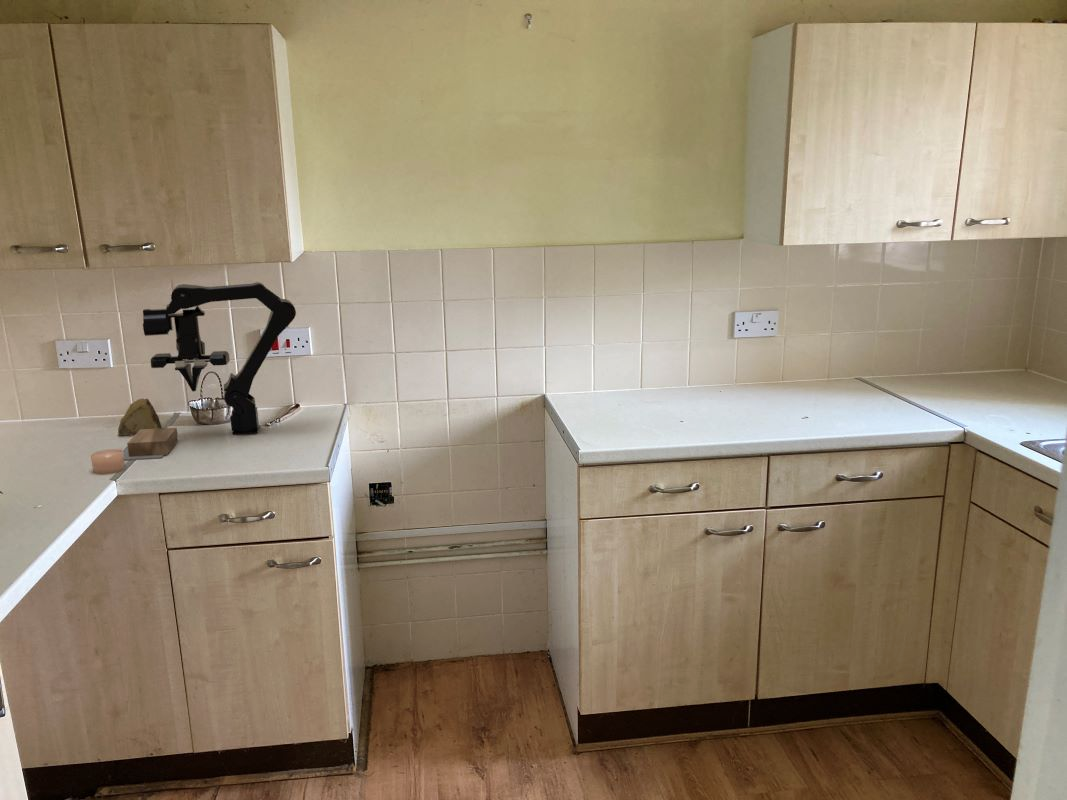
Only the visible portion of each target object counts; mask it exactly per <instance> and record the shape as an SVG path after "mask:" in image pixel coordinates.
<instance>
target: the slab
mask: <svg viewBox="0 0 1067 800" xmlns="http://www.w3.org/2000/svg"><path fill="white" fill-rule="evenodd" d="M177 428H178V427H164V428H163V427H162V428H158V429H140V430H139V431H138V432H137V433H136V434H134V435H133V436H132V437H131V438H130V439H129V441H128V442H127V443H126V445H127V446H128V453H129V457H131V456H148V455H164V454H165V455H168V454H169V453H170V451H171V450H172V449H173V447H174V446H175V445H176V443H177V442H178V441H179V437H178V430H177ZM165 455H164V456H165Z"/></svg>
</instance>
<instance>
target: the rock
mask: <svg viewBox="0 0 1067 800" xmlns="http://www.w3.org/2000/svg"><path fill="white" fill-rule="evenodd" d="M158 428H163V427H162V423H161V421H160V418H159V415H158V414H157V411H156V409H155V408H154V406H153V404H152V403H151V402H150V401H149V398H139V399H136V401H133V402H132V403H130V404H129V407H128V408H127V410H126V412H125V414H124V415H123V416H122V417H121V419H120V421H119V425H118V428H117V435H118V436H119V437H120V436H122V437H123V436H131V435H133V436H134V435H135V434H136V433H137V432H138V431H139V430H140V429H158Z"/></svg>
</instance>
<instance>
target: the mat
mask: <svg viewBox="0 0 1067 800" xmlns="http://www.w3.org/2000/svg"><path fill="white" fill-rule="evenodd" d="M122 451H123V453H124V461H137V460H139V461H140V460H153V459H154V460H156V459H163V457H164V456H165V455H166V454H164V455H148V456H131V457H129V453H128V445H127V446H126V447H125V448H124V449H123V450H122Z"/></svg>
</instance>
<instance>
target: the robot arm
mask: <svg viewBox="0 0 1067 800" xmlns="http://www.w3.org/2000/svg"><path fill="white" fill-rule="evenodd" d="M170 299H171V301H170V303H169V304H166V306H165V307H166V308H159V309H158V308H157V309H155V308H154V309H151V308H145V309H143V310H142V321H143V322H142V327H143V328H142V329H143V334H144V336H145V337H148V336H163V335H164V336H165V335H168V336H169V334H170V332H171V331H174V330H173V320H174V327H175V328H174V329H175V337H176V339H175V341H176V342H175V343H176V344H175V345H176V351H177V356H172V354H171V353H170V352H168V353H167V352H166V353H164V352H163V353H156V354H154V355H153V356H152V357H151V359H150V367H151V369H161V368H162V369H164V367H166V366H167V364H169V365H170V364H171V365H172V364H174V366H175V368H174V370H175V371H178V372H179V373H180V374H181V375H182V377H183V378H184V379H185V381H186V383H187V384H188V387H189V389H190V391H192V392H196V391H197V388H198V384H199V381H200V376H201V372H202V370H204V369H205V368H206V367H207V366H208V363H210V364H211V365H212V366H214V367H215V366H226V365H228V363H229V362H230V361H231V360H230V353H229V352H228V351H227V350H217V351H212V352H211V353H210V354H206V345H205V341H203V340H202V339H201V335H200V334H201V333H200V327H199V326H200V325H199V317H204V316H205V314H206V312H205V310H202V309H201V308H200V306H201V305H204V304H207V303H215V302H225V301H226V302H227V301H228V302H229V301H236V300H237V301H241V300H250V299H251V300H252V299H257V300H258V301H259V302H260V303H261V304H263V305H264V306H265V307H266V308H267V309H269V310H270V313H269V316H268V320H267V322H266V326H265V328H264V330H263V331H262V333H261V335H260V336H259V338H258V340H257V342H256V344H255V345H254V346H253V348H252V350H251V352H250V353H249V355H248V357H247V359H246V361H245V362H244V364H243V366H242V367H241V369H240V370H239V372H237V373H236V374H234V373H233V372H230V374H229V376H228V379H227V380H226V382H225V383H224V384H223V400H224V403H226V405H228V406H229V407H231V408H232V410H231V415H230V417H229V418H230V427H231V429H230V430H231V432H232V435H246V434H247V435H248V434H257V433H259V430H260V428H261V425H260V424H259V412H258V406H257V405H256V404H257V403H256V400H255V399H256V398H255V397H254V396H253V395H252V394H250V391H251V388H252V385H253V381H254V378H255V377H256V375H257V373H258V371H259V369H260V368H261V366H262V365H263V363H264V361H265V359H266V358H267V356H268V354H269V352H270V351H271V349H272V347H273V346H274V344H275V343H276V340H277V339H278V337H279V336H280V335H281V333H283V331H285V329H287V328H288V327H289V325H290V324H291V323H292V322H293V321H294V320H295V318H296V315H297V310H296V307H295V306H294V304H293V303H292V302H291V301H290V300H289V299H286V298H281V297H279V296H278V295H277V294H275V293H274V292H273V291H271V290H270V289H269V288H267V287H266V286H265V284H264V283H262V282H257V281H256V282H254V283H243V284H229V285H217V286H216V285H215V286H204V285H197V284H187V283H185V284H183V283H181V284H178V285H176V286H175V287H174V288H173V290H172V292H171V295H170ZM191 308H192V309H191ZM193 308H194V309H193ZM180 310H182V313H179V312H178V311H180ZM177 312H178V313H177ZM191 363H193V366H192V364H191Z"/></svg>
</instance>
